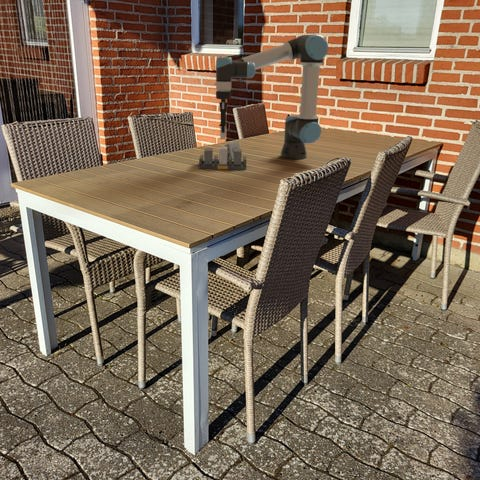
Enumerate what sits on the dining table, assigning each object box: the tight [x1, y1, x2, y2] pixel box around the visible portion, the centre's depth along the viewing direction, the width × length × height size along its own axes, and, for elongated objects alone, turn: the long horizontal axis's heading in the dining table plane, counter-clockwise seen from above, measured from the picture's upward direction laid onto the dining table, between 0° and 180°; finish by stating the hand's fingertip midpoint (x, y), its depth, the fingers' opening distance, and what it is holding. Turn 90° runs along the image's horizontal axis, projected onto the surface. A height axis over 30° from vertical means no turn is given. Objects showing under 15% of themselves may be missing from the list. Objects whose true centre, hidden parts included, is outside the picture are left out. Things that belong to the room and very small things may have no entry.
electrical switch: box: [224, 141, 241, 161], centre depth 267 cm, size 9×5×9 cm, turn 141°
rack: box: [198, 147, 247, 171], centre depth 247 cm, size 24×14×9 cm, turn 90°
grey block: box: [218, 145, 228, 166], centre depth 246 cm, size 4×8×9 cm, turn 0°
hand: (223, 137), depth 243 cm, fingers open, 6 cm apart
